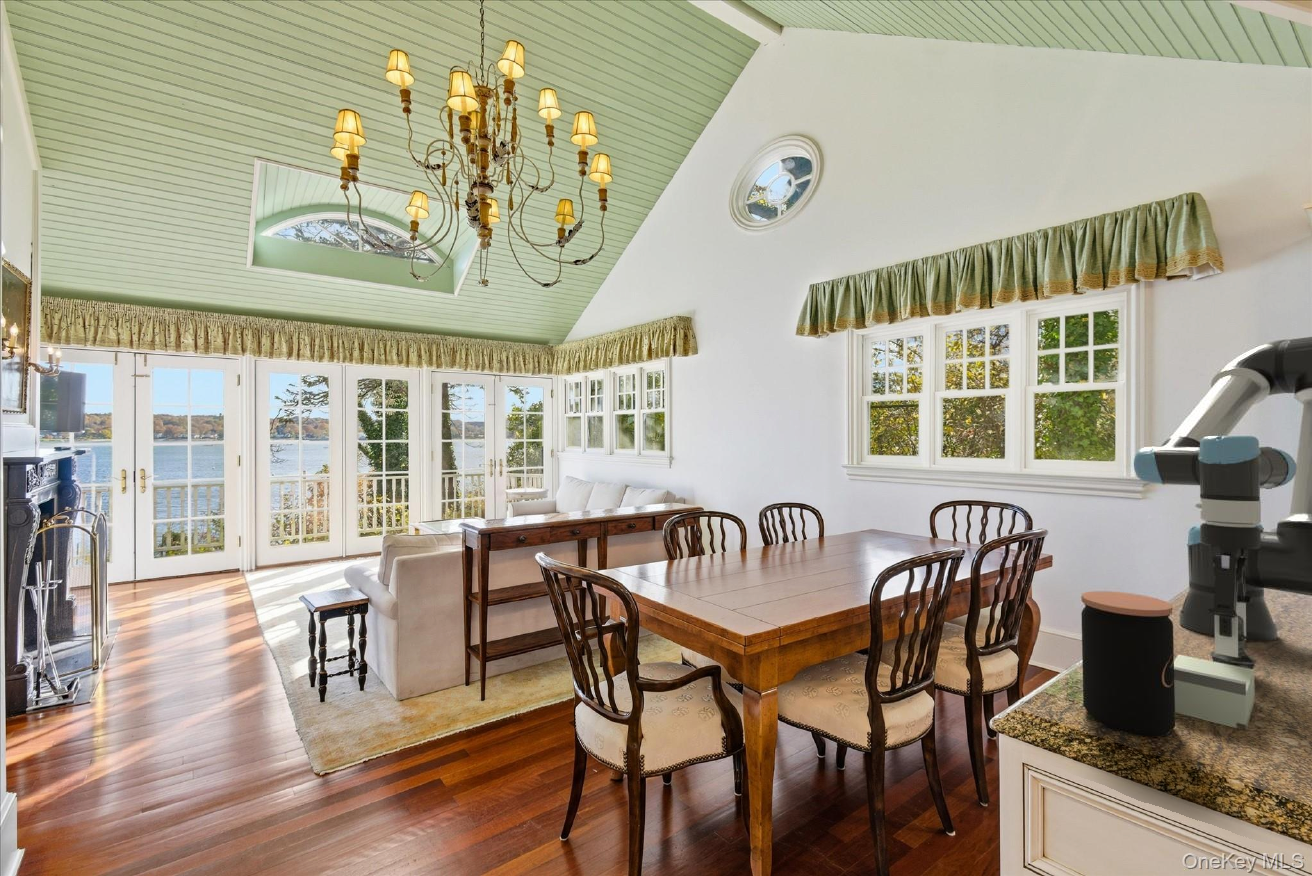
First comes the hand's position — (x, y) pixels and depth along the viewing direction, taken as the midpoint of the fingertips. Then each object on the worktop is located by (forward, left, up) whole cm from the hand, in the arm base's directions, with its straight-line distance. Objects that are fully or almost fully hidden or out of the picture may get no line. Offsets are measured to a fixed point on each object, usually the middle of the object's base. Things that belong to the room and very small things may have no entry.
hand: (1231, 646), depth 102 cm
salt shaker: (0, 0, -6) cm, 6 cm away
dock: (+15, +9, -6) cm, 18 cm away
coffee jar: (+32, +12, -6) cm, 34 cm away
